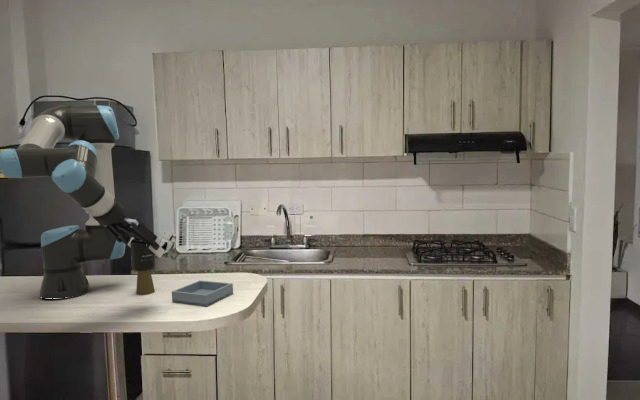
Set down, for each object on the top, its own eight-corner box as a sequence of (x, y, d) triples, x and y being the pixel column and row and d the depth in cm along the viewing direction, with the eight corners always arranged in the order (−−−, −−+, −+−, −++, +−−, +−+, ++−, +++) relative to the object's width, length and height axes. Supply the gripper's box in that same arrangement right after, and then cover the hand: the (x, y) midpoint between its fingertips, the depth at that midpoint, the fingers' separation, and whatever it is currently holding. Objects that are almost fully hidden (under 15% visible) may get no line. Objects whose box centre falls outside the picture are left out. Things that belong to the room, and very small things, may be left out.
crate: (172, 302, 142) (171, 291, 142) (200, 290, 154) (199, 280, 154) (206, 306, 136) (206, 295, 136) (233, 293, 149) (232, 283, 148)
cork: (158, 291, 154) (155, 260, 153) (141, 296, 150) (138, 263, 149) (149, 288, 158) (147, 258, 157) (133, 293, 154) (130, 261, 153)
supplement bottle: (148, 271, 132) (145, 231, 130) (127, 271, 133) (124, 231, 132) (160, 266, 138) (158, 227, 137) (141, 266, 140) (138, 227, 138)
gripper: (70, 217, 124) (122, 261, 140) (122, 218, 116) (171, 266, 132) (86, 196, 128) (134, 242, 145) (137, 196, 120) (182, 244, 136)
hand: (152, 253), depth 138 cm, fingers closed on supplement bottle, 7 cm apart
